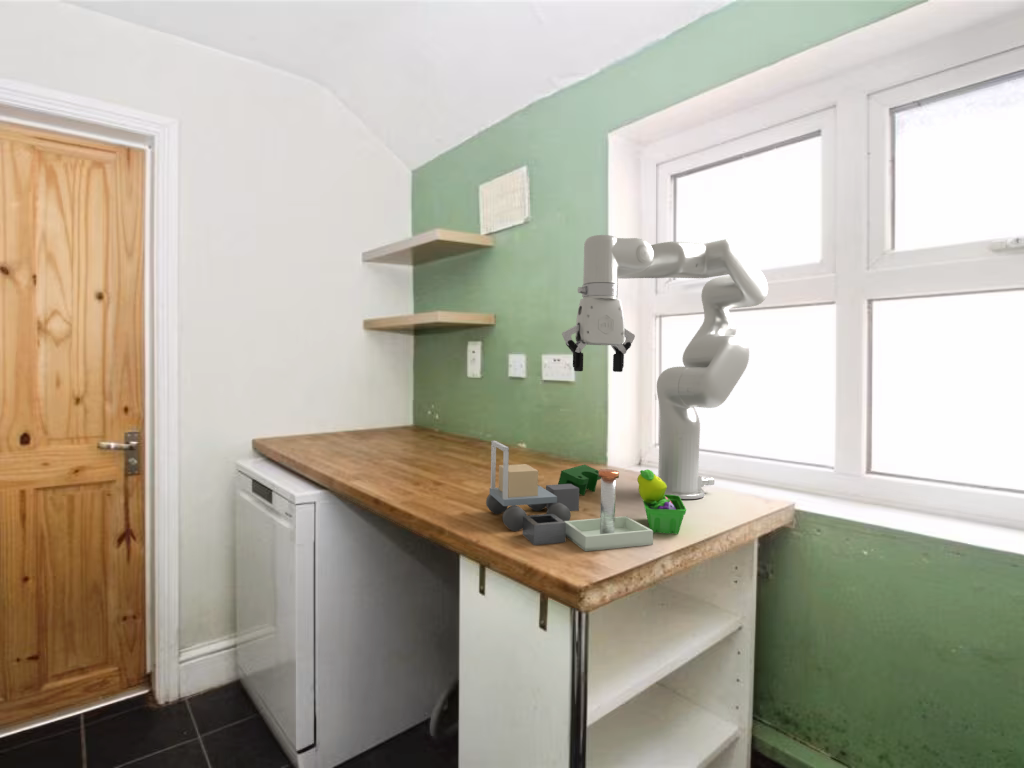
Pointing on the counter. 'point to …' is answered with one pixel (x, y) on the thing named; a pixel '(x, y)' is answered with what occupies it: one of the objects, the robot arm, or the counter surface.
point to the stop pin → (608, 500)
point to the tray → (623, 536)
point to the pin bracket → (544, 529)
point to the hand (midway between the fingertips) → (598, 371)
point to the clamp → (580, 478)
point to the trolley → (519, 492)
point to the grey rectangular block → (565, 495)
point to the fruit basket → (660, 504)
